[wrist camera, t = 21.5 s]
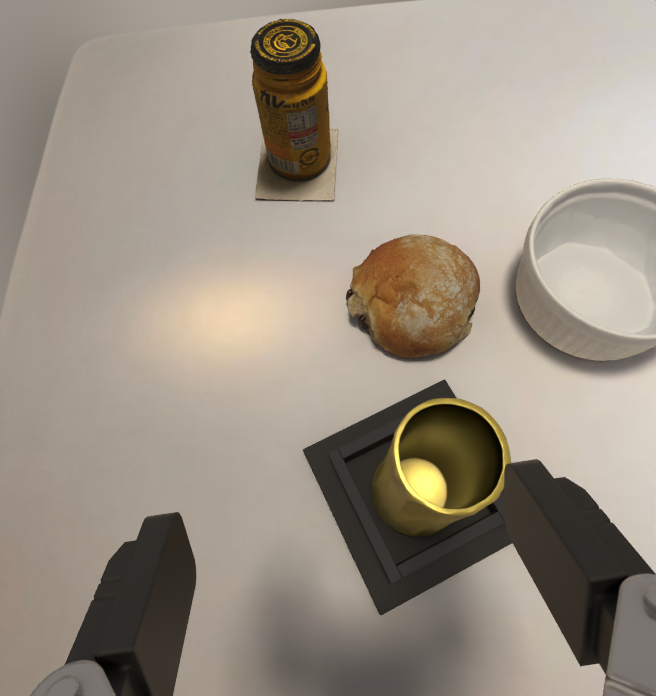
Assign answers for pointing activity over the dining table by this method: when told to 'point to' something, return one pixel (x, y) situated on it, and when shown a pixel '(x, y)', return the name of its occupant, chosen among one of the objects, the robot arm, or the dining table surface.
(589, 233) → the ramekin
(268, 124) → the condiment
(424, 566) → the base pad
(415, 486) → the vase
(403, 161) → the dining table surface
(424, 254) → the bread roll
